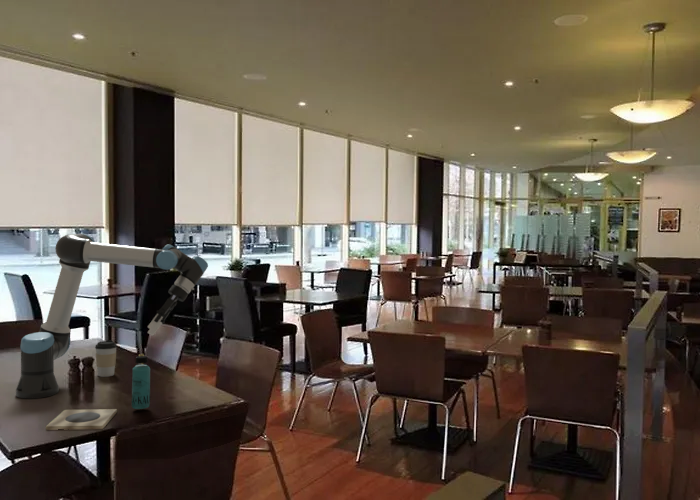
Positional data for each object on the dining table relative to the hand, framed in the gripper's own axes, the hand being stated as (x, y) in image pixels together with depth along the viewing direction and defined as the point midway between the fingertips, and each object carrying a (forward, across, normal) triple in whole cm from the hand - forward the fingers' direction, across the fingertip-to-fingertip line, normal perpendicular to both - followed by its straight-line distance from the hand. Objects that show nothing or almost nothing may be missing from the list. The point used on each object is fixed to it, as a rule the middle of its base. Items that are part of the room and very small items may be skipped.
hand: (150, 331), depth 248 cm
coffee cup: (+21, +40, +8) cm, 46 cm away
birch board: (+40, -22, -1) cm, 46 cm away
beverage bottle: (+28, -15, -16) cm, 35 cm away
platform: (+10, +49, -3) cm, 50 cm away
